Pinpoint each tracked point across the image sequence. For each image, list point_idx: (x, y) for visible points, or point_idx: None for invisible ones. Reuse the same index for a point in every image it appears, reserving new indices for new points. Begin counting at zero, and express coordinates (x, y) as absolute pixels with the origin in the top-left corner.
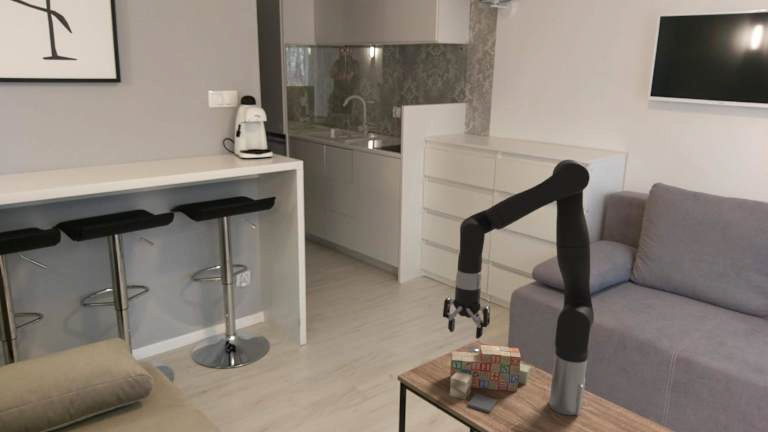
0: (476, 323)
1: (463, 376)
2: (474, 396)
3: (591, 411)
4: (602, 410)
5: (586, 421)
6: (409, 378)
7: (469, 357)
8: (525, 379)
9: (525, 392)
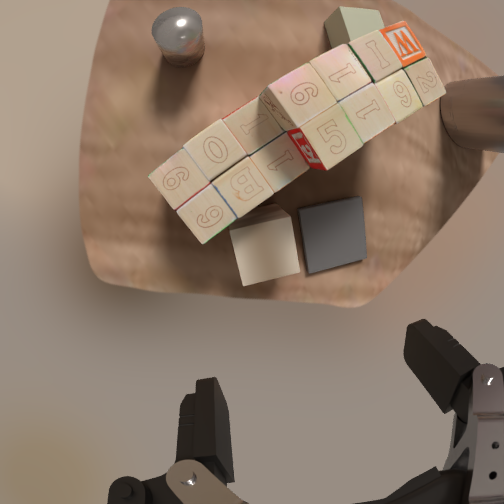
0: (457, 440)
1: (271, 246)
2: (305, 228)
3: None
4: None
5: None
6: (100, 272)
7: (247, 166)
8: None
9: None
